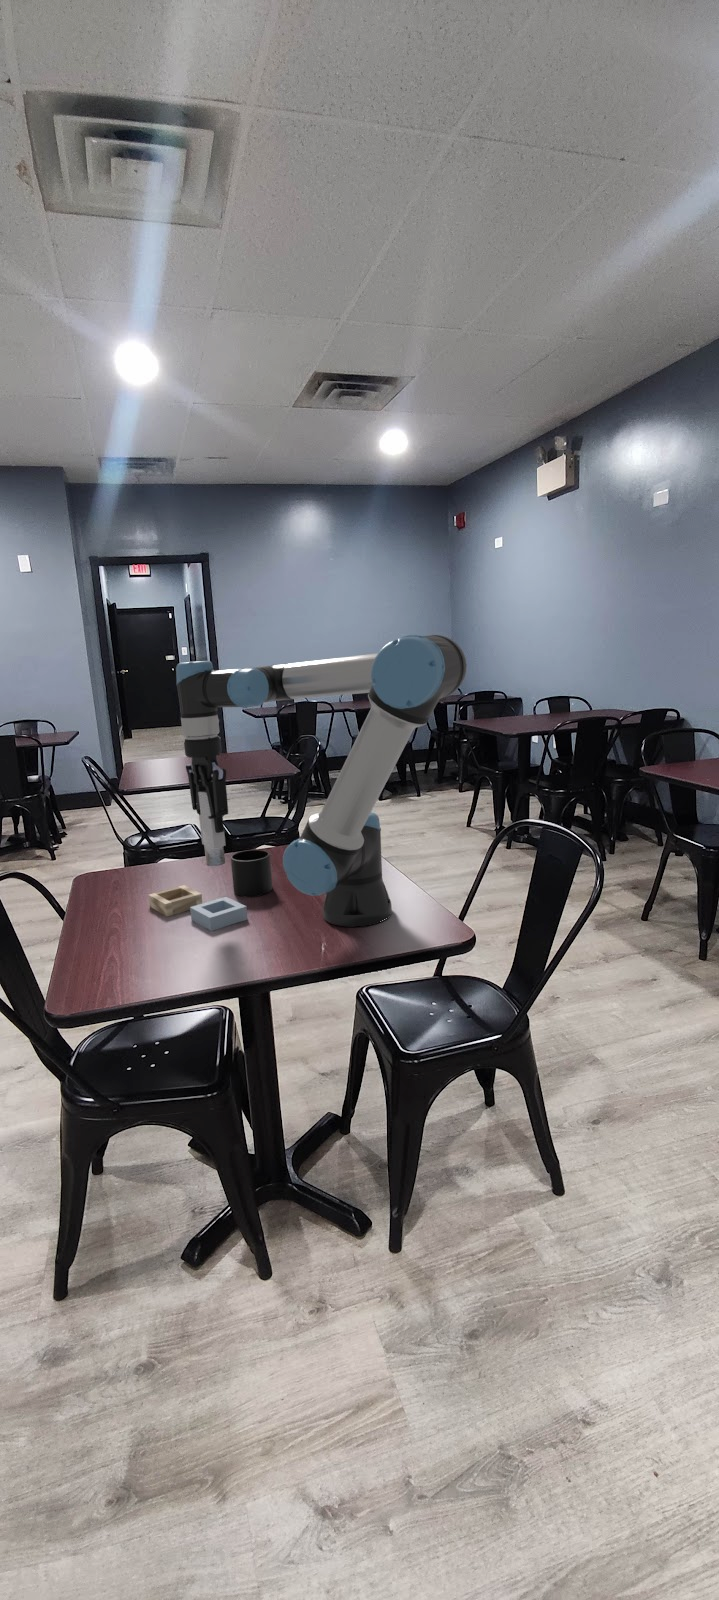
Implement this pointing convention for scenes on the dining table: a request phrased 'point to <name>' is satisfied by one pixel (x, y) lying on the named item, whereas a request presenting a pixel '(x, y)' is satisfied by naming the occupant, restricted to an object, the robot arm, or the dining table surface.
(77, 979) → the dining table surface
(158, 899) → the block
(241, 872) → the mug
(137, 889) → the dining table surface
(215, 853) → the pin
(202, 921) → the socket block
